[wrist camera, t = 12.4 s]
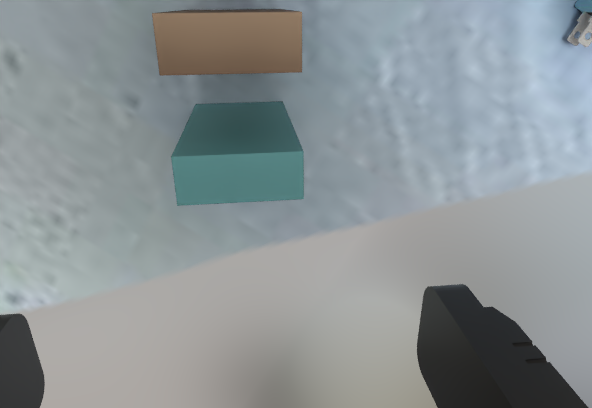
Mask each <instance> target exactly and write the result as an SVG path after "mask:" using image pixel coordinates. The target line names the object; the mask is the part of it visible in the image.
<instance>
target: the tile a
mask: <svg viewBox="0 0 592 408" xmlns="http://www.w3.org/2000/svg"><path fill="white" fill-rule="evenodd" d="M152 17H153V25H154V33H155V41H156V49H157V57H158V65H159V73H160V75H201V74H245V73H289V72H302V12H299V11H291V10H283V9H243V10H181V11H171V12H161V13H152Z"/></svg>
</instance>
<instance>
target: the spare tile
mask: <svg viewBox="0 0 592 408" xmlns="http://www.w3.org/2000/svg"><path fill="white" fill-rule="evenodd" d="M171 159H172V167H173V175H174V183H175V191H176V198H177V206H180V205H199V204H218V203H237V202H256V201H276V200H295V199H304V170H303V149H302V147H301V144H300V142H299V140H298V137H297V135H296V133H295V130H294V128H293V125H292V123H291V121H290V118H289V116H288V114H287V111H286V109H285V106H284V104H283V102H252V103H220V104H196V105H195V107H194V109H193V111H192V114H191V116H190V118H189V120H188V122H187V124H186V126H185V129H184V131H183V133H182V135H181V137H180V139H179V141H178V144H177V146H176V148H175V150H174V152H173V154H172V156H171Z"/></svg>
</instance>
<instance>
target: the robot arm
mask: <svg viewBox="0 0 592 408" xmlns="http://www.w3.org/2000/svg"><path fill="white" fill-rule="evenodd" d="M417 355H418V362H419V367H420V370H421V373H422V375H423V378H424V380H425V382H426V384H427V386H428V388H429V390H430V392H431V394H432V397H433V398H434V401H435V403H436V405H437V407H438V408H588V407H587V406H586V404H584V402H583V401H582V400H581V399H580V397H579V396H578V395H577V394H576V393H575V391H574V390H573V389H572V388H571V387H570V386H569V384H568V383H567V382H566V381H565V380H564V379H563V377H562V376H561V375H560V374H559V373H558V371H557V370H556V369H555V368H554V367H553V366H552V364H551V363H550V362H547V361H546V357H545V356H544V355H543V354H542V353H541V351H540V350H539V349H538V348H537V347H536V346H533V344H532V341H531V340H530V339H529V337H528V336H527V335H526V334H525V333H524V331H523V330H522V329H521V328H520V327H519V325H517V323H516V322H515V321H513V320H511V319H510V318H509V317H507V316H506V315H504V314H503V313H501V312H499V311H498V310H497V309H495V308H493V307H483V306H482V305H481V303H480V302H479V301H478V300H477V298H476V297H475V296H474V294H473V293H472V292H471V291H470V290H469V288H468V287H467V286H466V285H463V284H459V285H446V286H433V287H432V286H431V287H427V288H426V290H425V292H424V296H423V304H422V311H421V318H420V326H419V334H418V342H417ZM43 394H44V374H43V370H42V367H41V364H40V360H39V357H38V354H37V351H36V347H35V344H34V341H33V338H32V334H31V331H30V328H29V325H28V323H27V320H26V318H25V317H24V316H23V315H22V314H7V315H0V408H40V405H41V402H42V399H43Z"/></svg>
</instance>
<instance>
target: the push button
mask: <svg viewBox="0 0 592 408" xmlns="http://www.w3.org/2000/svg"><path fill="white" fill-rule="evenodd" d="M575 7H576V8H577V9H579V10H580V11H581V12H582V14H581V15H580V17H579V18H578V20H577V21H578V24H577V25H576V26H575V28H574V29H573V31H572V32H571V34H570V35H569V37H568V38H567V41H569V42H570V43H572V44H573V45H575V46H576V45H578V44H579V43H580V44H582V45H583V46H585V47H588V46H589V45H590V43H591V42H592V0H577V2H576V4H575ZM577 31H579V32H580V36H579V38H577V39H575V38H574V34H575V33H576V32H577ZM588 32H590V33H591V37H590V38H589V39H588V40H586V39H585V35H586V34H587V33H588Z"/></svg>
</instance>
